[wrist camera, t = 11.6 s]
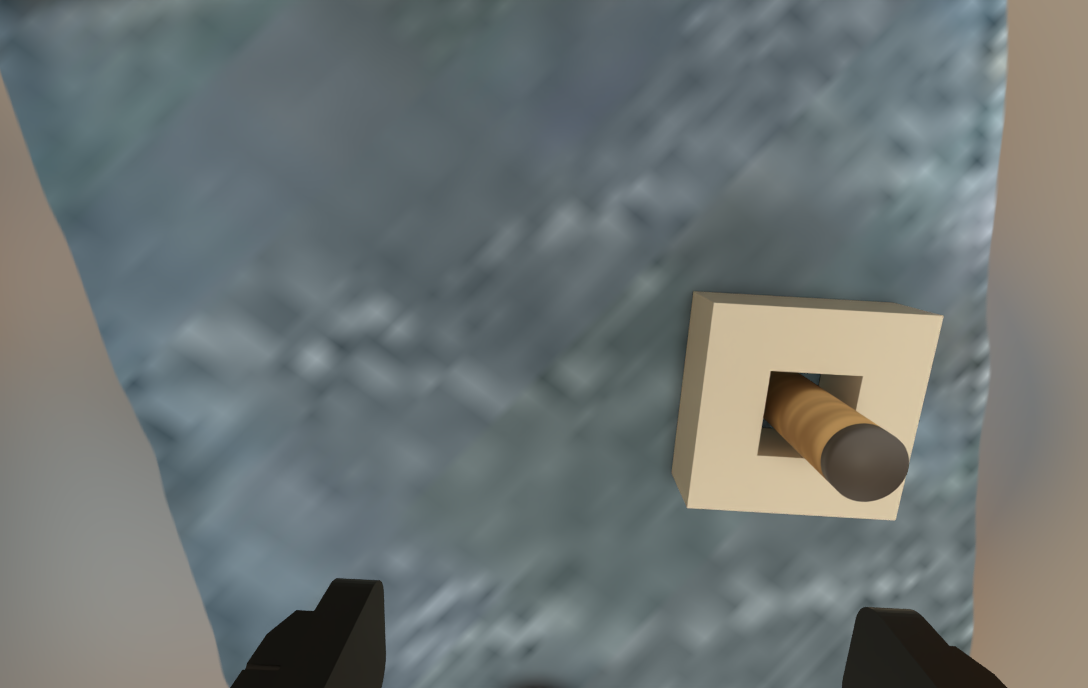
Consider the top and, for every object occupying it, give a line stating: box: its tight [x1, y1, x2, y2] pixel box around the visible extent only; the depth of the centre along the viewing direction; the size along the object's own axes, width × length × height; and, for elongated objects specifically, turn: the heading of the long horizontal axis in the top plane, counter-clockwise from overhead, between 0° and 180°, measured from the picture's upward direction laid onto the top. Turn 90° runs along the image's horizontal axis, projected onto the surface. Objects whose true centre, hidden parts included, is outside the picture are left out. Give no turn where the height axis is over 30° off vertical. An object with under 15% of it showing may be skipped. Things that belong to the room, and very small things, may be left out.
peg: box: [763, 371, 909, 502], centre depth 33 cm, size 4×4×12 cm
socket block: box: [672, 291, 943, 520], centre depth 37 cm, size 14×14×5 cm
